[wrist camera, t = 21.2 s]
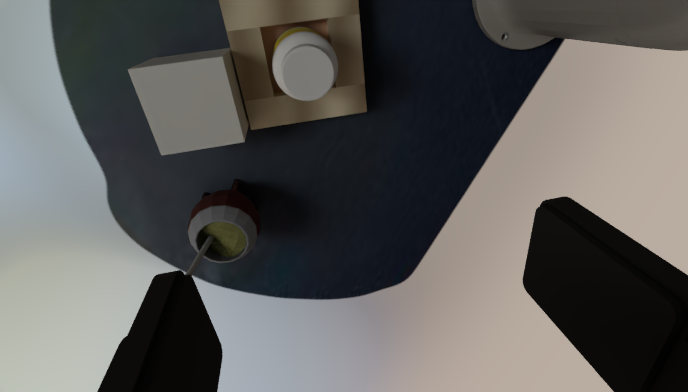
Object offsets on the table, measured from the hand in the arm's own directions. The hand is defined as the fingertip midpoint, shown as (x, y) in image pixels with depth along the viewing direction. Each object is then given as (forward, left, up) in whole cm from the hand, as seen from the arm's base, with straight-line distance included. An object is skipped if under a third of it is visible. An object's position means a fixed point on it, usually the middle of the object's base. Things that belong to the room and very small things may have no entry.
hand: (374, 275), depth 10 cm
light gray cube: (+10, 0, -30) cm, 32 cm away
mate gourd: (+11, +13, -31) cm, 35 cm away
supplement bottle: (0, -2, -30) cm, 30 cm away
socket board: (0, -2, -30) cm, 30 cm away
